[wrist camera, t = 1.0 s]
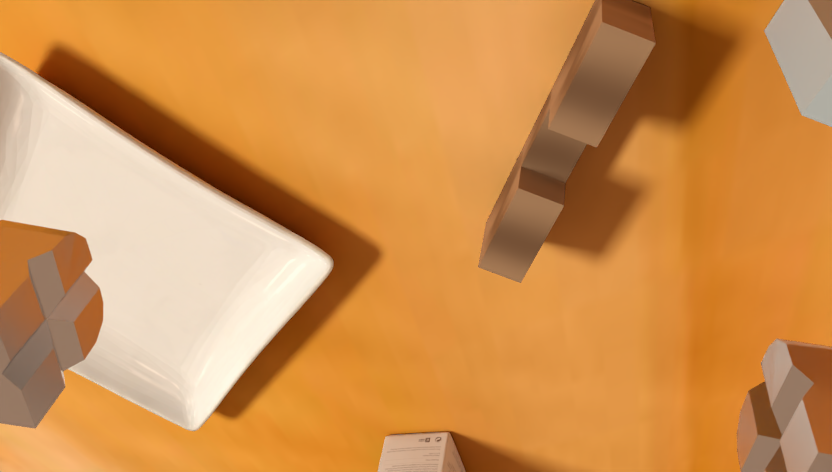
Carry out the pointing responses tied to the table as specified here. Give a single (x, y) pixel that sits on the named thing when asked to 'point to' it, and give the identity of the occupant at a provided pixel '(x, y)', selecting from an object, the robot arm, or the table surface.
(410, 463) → the skincare box
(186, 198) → the square plate
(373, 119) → the table surface
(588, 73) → the walnut rail
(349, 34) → the table surface
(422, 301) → the table surface
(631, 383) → the table surface
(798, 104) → the grey flat block
